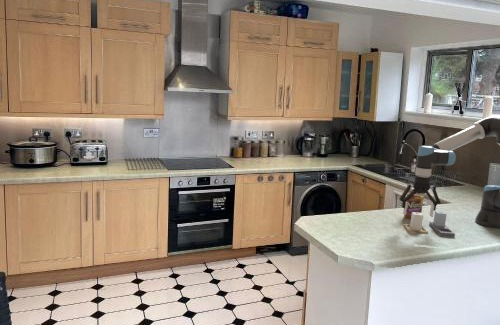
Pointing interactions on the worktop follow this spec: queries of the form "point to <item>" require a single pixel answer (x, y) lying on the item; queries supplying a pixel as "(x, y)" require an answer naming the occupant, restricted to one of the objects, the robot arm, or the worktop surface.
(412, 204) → the candy box
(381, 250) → the worktop surface
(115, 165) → the worktop surface
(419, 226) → the block
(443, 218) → the charger blue
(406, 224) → the tray
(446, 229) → the power strip
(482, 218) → the robot arm
